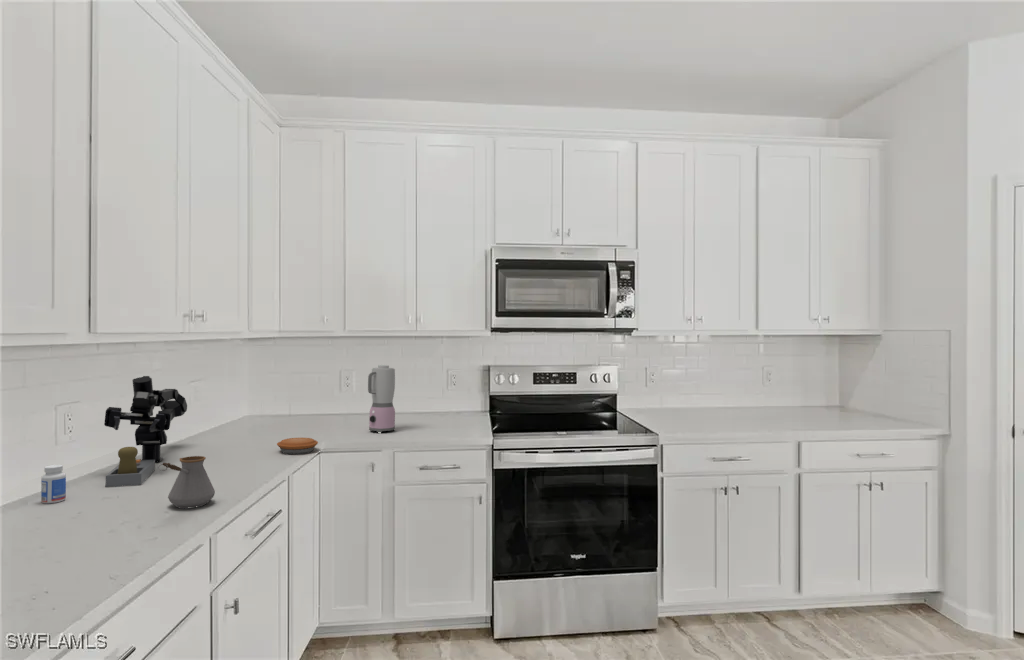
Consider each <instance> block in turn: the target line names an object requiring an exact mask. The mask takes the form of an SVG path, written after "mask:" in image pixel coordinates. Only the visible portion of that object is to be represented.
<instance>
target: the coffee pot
mask: <svg viewBox="0 0 1024 660" xmlns="http://www.w3.org/2000/svg"><path fill="white" fill-rule="evenodd" d="M206 459H207V458H206V457H205V456H202V455H200V456H199V455H194V456H193V455H192V456H191V455H190V456H185V457H180V458H179V459H178V460H179V462H180V463H181V467H180V466H178V465H175V464H173V463H172V464H171V463H170V462H163V463H161V464H159V466H157V469H158V470H159V471H161V472H164V471H165V472H166V471H167V470H168V468H169V469H170V470H174V471H178V472H179V473H178V474H177V477H176V479H175V481H174V483H173V485H172V488H171V489H170V491H169V493H168V497H167V499H168V501H169V502H170V503H171V504H172V505H174V506H175V507H176V508H177V507H180V508H179V509H184V508H185V509H189V508H188V507H196V506H201V507H203V506H202V505H204V504H206V503H207V504H208V503H209V502H210V501H211V500H212V499H213V498H214V496H215V494H216V492H215V491H216V490H215V488H214V486H213V484H212V482H211V479H210V477H209V476H208V473H207V471H206V469H205V467H204V461H205V460H206ZM160 466H164V467H166V468H165V469H163V470H162V469H160ZM207 504H206V505H207ZM204 506H205V505H204ZM196 508H197V507H196Z"/></svg>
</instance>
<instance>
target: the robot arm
mask: <svg viewBox="0 0 1024 660" xmlns="http://www.w3.org/2000/svg"><path fill="white" fill-rule="evenodd" d="M153 386H154V385H153V378H152V377H151V376H150V375H143V376H141V377H137V378H133V379H132V388H133V397H132V403H131V407H130V409H129V412H126V411H125V412H123V411H122V407H116V406H115V407H114V406H109V407H107V408H106V410H105V417H104V425H103V426H105V427H108V428H113V430H115V431H118V430H119V429H120V423H121V420H122V421H123V420H125V421H130V424H129V425H134V426H137V428H136V429H135V432H134V438H135V439H134V440H135V446H141V460H155V463H160V462H161V461H162V460H164V457H162V456H161V450H162V449H161V447H162V446H163V445H167V444H168V443H167V441H168V436H167V433H166V431H168V430H169V429H170V427H171V422H172V421H173V420H174V418H177V417H182V416H184V414H185V413H186V412H187V410H188V403H187V400H186V398H185V397H184V396H183V395H181V394H180V393H179V391H178V389H176V388H164V389H162V390H158V389H157V390H156V389H154V387H153ZM156 407H159V408H160V409H161V410H158V412H157V413H156V414H155V416H154V412H153V411H154V409H155V408H156Z"/></svg>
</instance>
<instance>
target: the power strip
mask: <svg viewBox="0 0 1024 660" xmlns="http://www.w3.org/2000/svg"><path fill="white" fill-rule="evenodd" d="M136 465H137V472H138V473H131V474H117V473H118V468H119V464H117V466H115V467H114V468H113V469H112V470H111V471H109V472H108V473H106V475H105V485H104V486H105V488H109V487H108V486H115V487H125V486H124V485H131V486H141V484H144V483H145V481H146V480H147V479H148V478H149V477H150V476H151V474H153V472H154V471H155V470H154V469H155V466H156V462H155V460H142V458H141V459H139V458H138V459H136ZM153 470H154V471H153ZM149 475H150V476H149ZM148 476H149V477H148ZM147 477H148V478H147ZM146 478H147V479H146ZM145 479H146V480H145ZM122 485H123V486H122Z"/></svg>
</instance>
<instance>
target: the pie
mask: <svg viewBox="0 0 1024 660" xmlns="http://www.w3.org/2000/svg"><path fill="white" fill-rule="evenodd" d="M276 445H277V446H278V448H279V449H280V451H281V452H282V453H283V454H284V455H303V454H308V453H311V452H313V451H314V449H315V448H316V446H317V445H319V442H318V441H317V440H316V439H314V438H311V437H291V438H285V439H282V440H281V441H278V442H277V443H276Z"/></svg>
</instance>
